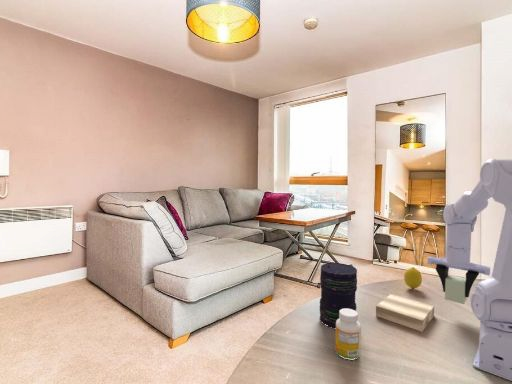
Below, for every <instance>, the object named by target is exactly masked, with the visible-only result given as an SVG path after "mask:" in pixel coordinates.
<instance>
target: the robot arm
mask: <svg viewBox="0 0 512 384" xmlns="http://www.w3.org/2000/svg"><path fill="white" fill-rule="evenodd" d="M479 171H480V172H479V181H478V183H477V184H476V186H475V187H474V188H473V189H472V190H466V191H464V193H463V194H461V196H460V197H459V198H458V199H457V200H456V202H455V203H446V205H445V207H444V208H443V212H442V213H443V215H442V216H443V221H444V224H446V235H445V236H446V238H445V239H446V240H445V241H446V242H445V244H446V245H445V257H435V256H428V257H427V263H426V264H427V265H436V267H435V271H436V273H437V275H438V277H439V279H440V281H441V286H442V291H443V293H445V282H446V278H447V277H448V275H449V272H450V271H449V269H457V270H461V271H467V272H466V273H465V278H466V289H465V297H467V299H468V298H470V308H471V310H472V313H473V314H474V317H476V319H477V320H478V321H479V323H480V324H479V339H478V347H477V351H476V352H475V353H476V354H475V357H474V359H473V363H472V367H474V368H476V369H478V370H481V371H484V372H487V373H489V374H492V375H495V376H497V377H500V378H502V379H505V380H508V381H510V382H512V159H511V158H510V159H497V158H489V159H487V160H486V161H485V162H484V163H483V165H481V168H480V170H479ZM491 198H492V199H493V201H494V202H497V203H498V204H501V205H503V206H504V208H505V211H504V215H503V220H502V224H501V225H502V226H501V230H500V236H499V239H498V244H497V248H496V249H497V250H496V253H495V258H494V263H493V267H491V266H487V265H481V264H477V263H474V262H471V249H472V248H471V246H472V233H474V231H475V225H476V223H477V219H478V215H479V214H480V213H482V212H483V211H484V210H485V209H486V208H487V207H488V205H489V199H491ZM491 268H493V269H492V272H491ZM480 274H481V275H485V276H488V277H487V278H485V279H482V280H480V281H478V282H477V283H476V286H475V290H474V291H473V293H472V294H471V295H470V293H471V289H472V287H473V285H474V282H475V280H476V279H477V278H478V276H479V275H480ZM490 275H491V276H490ZM469 296H471V297H469Z"/></svg>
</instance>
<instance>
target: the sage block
mask: <svg viewBox="0 0 512 384" xmlns="http://www.w3.org/2000/svg"><path fill="white" fill-rule="evenodd" d="M465 289H466V277H460V276H456V275H451V274H448V277H447V278H446V282H445V292H444V300H446V301H451V302H454V303H458V304H462V305H465V303H466V302H467V300H468V298H467V297H465Z"/></svg>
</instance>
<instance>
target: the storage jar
mask: <svg viewBox="0 0 512 384" xmlns="http://www.w3.org/2000/svg"><path fill="white" fill-rule="evenodd" d="M357 277H358V269H357V268H356V267H354V266H353V265H350V264H346V263H338V262H337V263H336V262H331V263H330V262H329V263H328V262H327V263H324V264H321V266H320V275H319V280H320V281H319V286H320V289H321V291H320V293H321V294H320V299H319V315H320V316H319V321H320V320H321V321H322V322H323V323H324V324H326V325H328V326H329V327H332V328H336V321H337V319H339V311H340V310H341V309H344V308H348V309H352V310H355V311H356V312H357V309H358V307H357V303H356V292H357V289H358V286H357V285H358V278H357ZM321 321H320V322H321ZM324 324H323V325H324ZM329 327H328V328H329ZM332 328H331V329H332Z"/></svg>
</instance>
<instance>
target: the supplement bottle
mask: <svg viewBox="0 0 512 384" xmlns="http://www.w3.org/2000/svg"><path fill="white" fill-rule="evenodd" d="M358 319H359V314H358V312H357V310H356V311H355V310H352V309H348V308H344V309H341V310H340V311H339V319H337V321H336V329H335V338H334V339H335V343H334V344H335V345H334V347H335V348H334V349H335V350H336V352H337V354H339V355H340V356H342V357H344V358H349V359H354V358H355V359H356V358H358V357H359V356H361V337H362V335H361V334H362V333H361V332H362V330H361V328H362V327H361V323H360V322H359V320H358ZM336 352H335V353H336ZM337 354H336V355H337ZM359 358H360V357H359ZM359 358H358V359H359Z"/></svg>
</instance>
